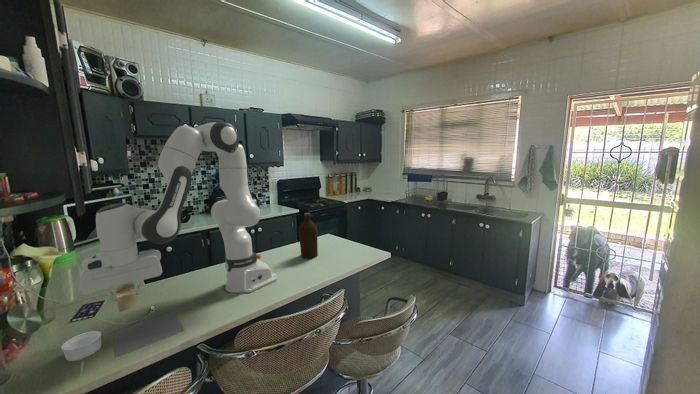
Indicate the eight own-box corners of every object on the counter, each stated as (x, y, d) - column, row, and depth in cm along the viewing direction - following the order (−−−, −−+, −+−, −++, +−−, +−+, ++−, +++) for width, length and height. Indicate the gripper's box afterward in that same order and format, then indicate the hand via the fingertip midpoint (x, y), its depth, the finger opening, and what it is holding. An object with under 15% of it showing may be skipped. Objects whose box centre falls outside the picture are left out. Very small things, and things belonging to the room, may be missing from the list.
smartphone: (67, 323, 101) (82, 304, 114) (67, 324, 101) (83, 305, 114) (94, 317, 104) (106, 299, 117) (94, 318, 104) (106, 300, 117)
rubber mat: (175, 312, 106) (175, 311, 106) (184, 331, 94) (184, 330, 94) (113, 333, 94) (113, 332, 94) (115, 358, 82) (115, 357, 82)
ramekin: (69, 349, 87) (67, 337, 86) (106, 339, 92) (104, 327, 91) (59, 367, 80) (56, 354, 79) (99, 355, 84) (97, 342, 83)
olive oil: (317, 259, 155) (315, 215, 151) (298, 259, 155) (295, 215, 151) (319, 252, 165) (317, 211, 161) (302, 252, 166) (299, 211, 162)
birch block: (116, 297, 82) (115, 284, 91) (119, 312, 83) (117, 297, 92) (135, 292, 85) (133, 280, 94) (138, 306, 86) (134, 292, 95)
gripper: (158, 245, 96) (163, 283, 98) (76, 261, 83) (84, 304, 85) (161, 249, 91) (166, 289, 93) (74, 267, 78) (83, 313, 80)
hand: (126, 296), depth 89 cm, fingers closed on birch block, 4 cm apart
